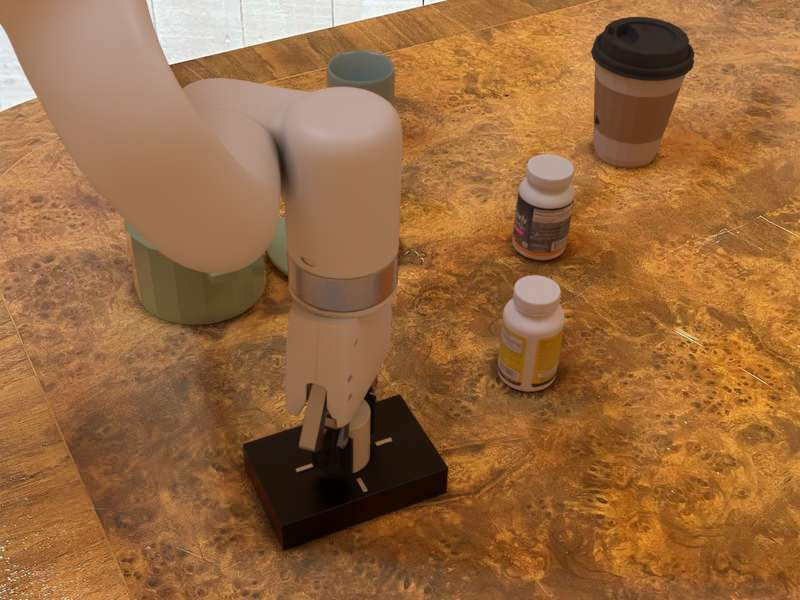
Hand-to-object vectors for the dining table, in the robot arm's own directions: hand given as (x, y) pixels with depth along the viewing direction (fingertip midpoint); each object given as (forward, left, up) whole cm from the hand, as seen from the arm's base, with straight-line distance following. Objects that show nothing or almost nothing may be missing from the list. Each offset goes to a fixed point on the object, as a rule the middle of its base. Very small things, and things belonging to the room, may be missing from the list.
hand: (344, 447), depth 84 cm
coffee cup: (+50, +33, -4) cm, 60 cm away
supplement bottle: (+20, +5, -4) cm, 21 cm away
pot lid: (+11, +29, -3) cm, 31 cm away
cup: (+22, +47, -4) cm, 52 cm away
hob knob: (0, 0, -1) cm, 1 cm away
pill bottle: (+31, +21, -4) cm, 38 cm away
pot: (-3, +29, -4) cm, 29 cm away
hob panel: (0, 0, -4) cm, 4 cm away
